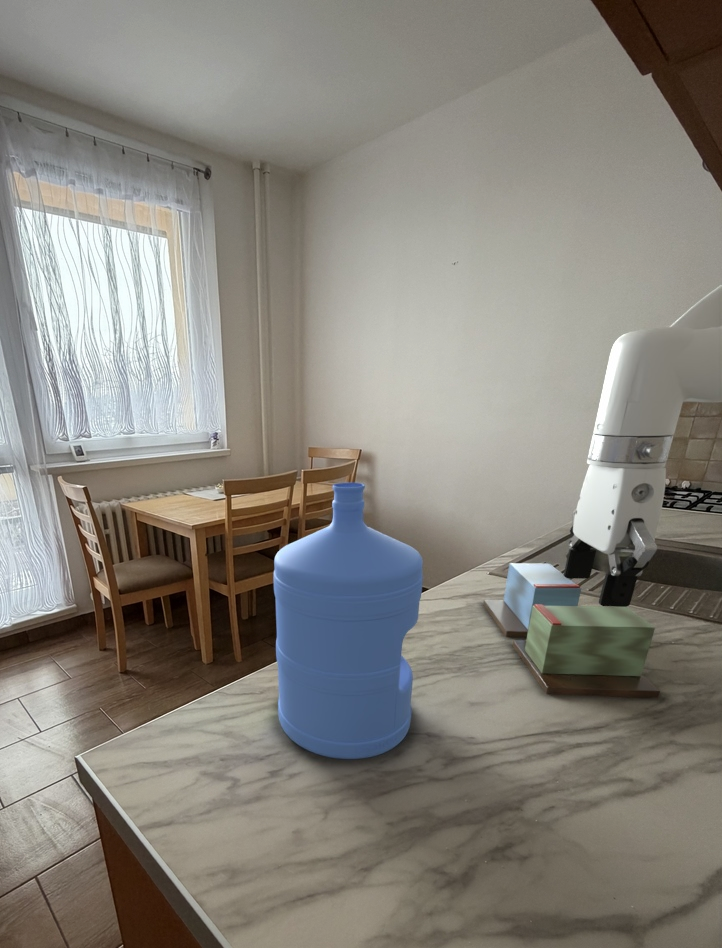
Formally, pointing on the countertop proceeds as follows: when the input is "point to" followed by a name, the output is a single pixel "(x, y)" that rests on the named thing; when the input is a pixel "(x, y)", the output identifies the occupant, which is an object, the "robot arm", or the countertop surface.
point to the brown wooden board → (588, 681)
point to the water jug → (345, 634)
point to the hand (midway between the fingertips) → (593, 590)
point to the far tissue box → (537, 589)
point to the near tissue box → (588, 640)
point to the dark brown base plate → (505, 618)
